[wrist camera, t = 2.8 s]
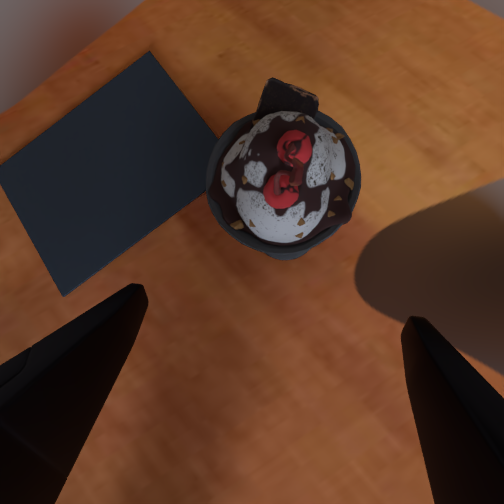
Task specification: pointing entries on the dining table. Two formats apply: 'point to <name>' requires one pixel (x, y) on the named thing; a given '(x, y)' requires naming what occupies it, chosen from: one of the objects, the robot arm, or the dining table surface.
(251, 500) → the dining table surface
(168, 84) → the dark blue rectangular panel
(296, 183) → the sundae
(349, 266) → the dining table surface
